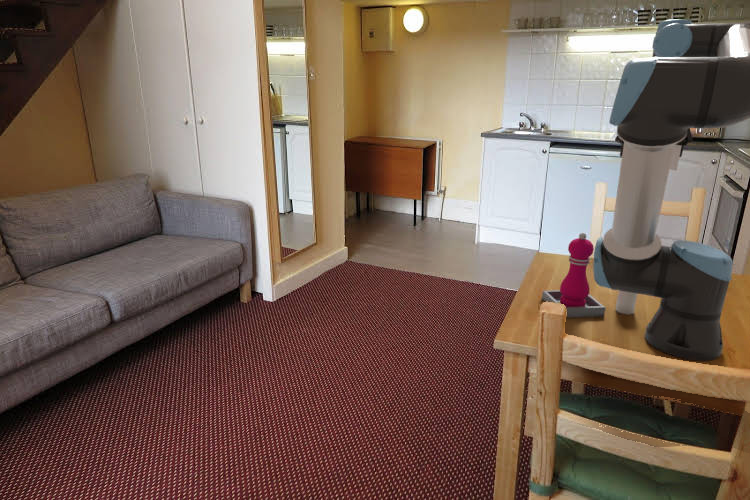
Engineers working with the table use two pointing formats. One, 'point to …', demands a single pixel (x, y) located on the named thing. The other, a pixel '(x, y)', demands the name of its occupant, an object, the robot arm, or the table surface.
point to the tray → (590, 309)
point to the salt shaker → (626, 302)
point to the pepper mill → (577, 273)
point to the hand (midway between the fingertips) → (648, 169)
